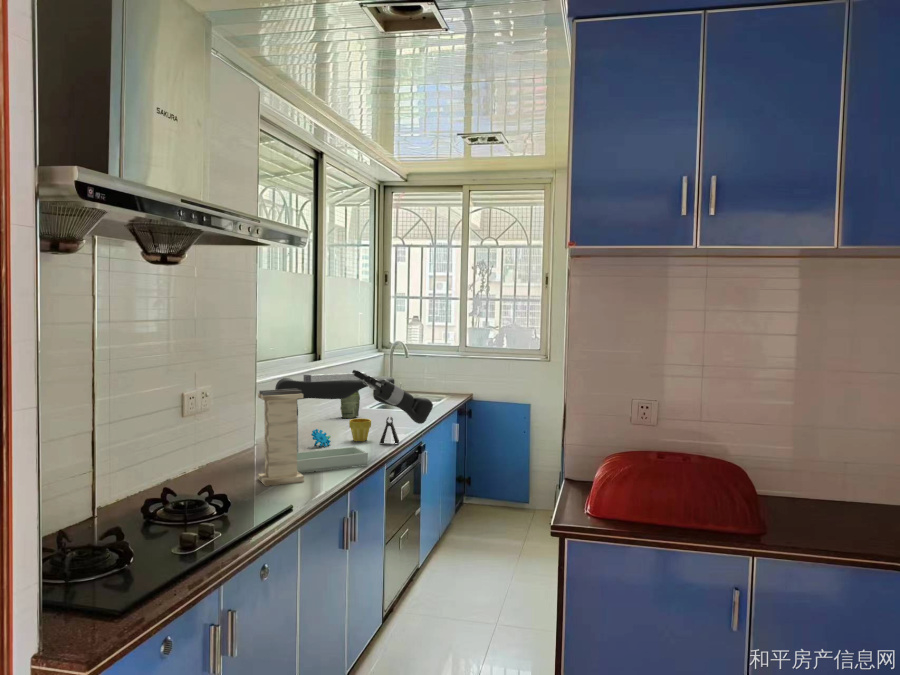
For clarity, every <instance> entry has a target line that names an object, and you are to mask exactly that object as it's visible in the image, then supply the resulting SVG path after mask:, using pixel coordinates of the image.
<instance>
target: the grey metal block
mask: <svg viewBox="0 0 900 675" xmlns="http://www.w3.org/2000/svg"><path fill="white" fill-rule="evenodd" d="M362 373H363V374H364V376H365V375H367V372H362ZM359 379H360V378H358V377H356V376H354V373H352V372H346V373H344V372H343V373H323V374H321V373H320V374H308V373H307V374H303V381H304V382H320V381H340V380H359Z"/></svg>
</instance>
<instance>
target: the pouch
mask: <svg viewBox="0 0 900 675" xmlns="http://www.w3.org/2000/svg"><path fill="white" fill-rule="evenodd" d="M360 401H361V396H360V392H359V391H357V392H356V393H354V394H353V395H351V396H349V397H347V398H345V399H340V408H339V409H340V412H341V413H340V414H341V418H342V419H355V418H357V417H359V415H360V414H359V411H360Z"/></svg>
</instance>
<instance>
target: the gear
mask: <svg viewBox="0 0 900 675" xmlns="http://www.w3.org/2000/svg"><path fill="white" fill-rule="evenodd" d="M310 436H312V440H313V441H314V440H315V441H314V444H313V445H314V446H317V445H318V444H319V447H322V446H323V447H324V448H327V447H329V446H330V443H331V439H330V438H331V435H327V432H323V430H322V429H320V430H319V429H318V428H316V429H313V430H312V433H311V435H310Z"/></svg>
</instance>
